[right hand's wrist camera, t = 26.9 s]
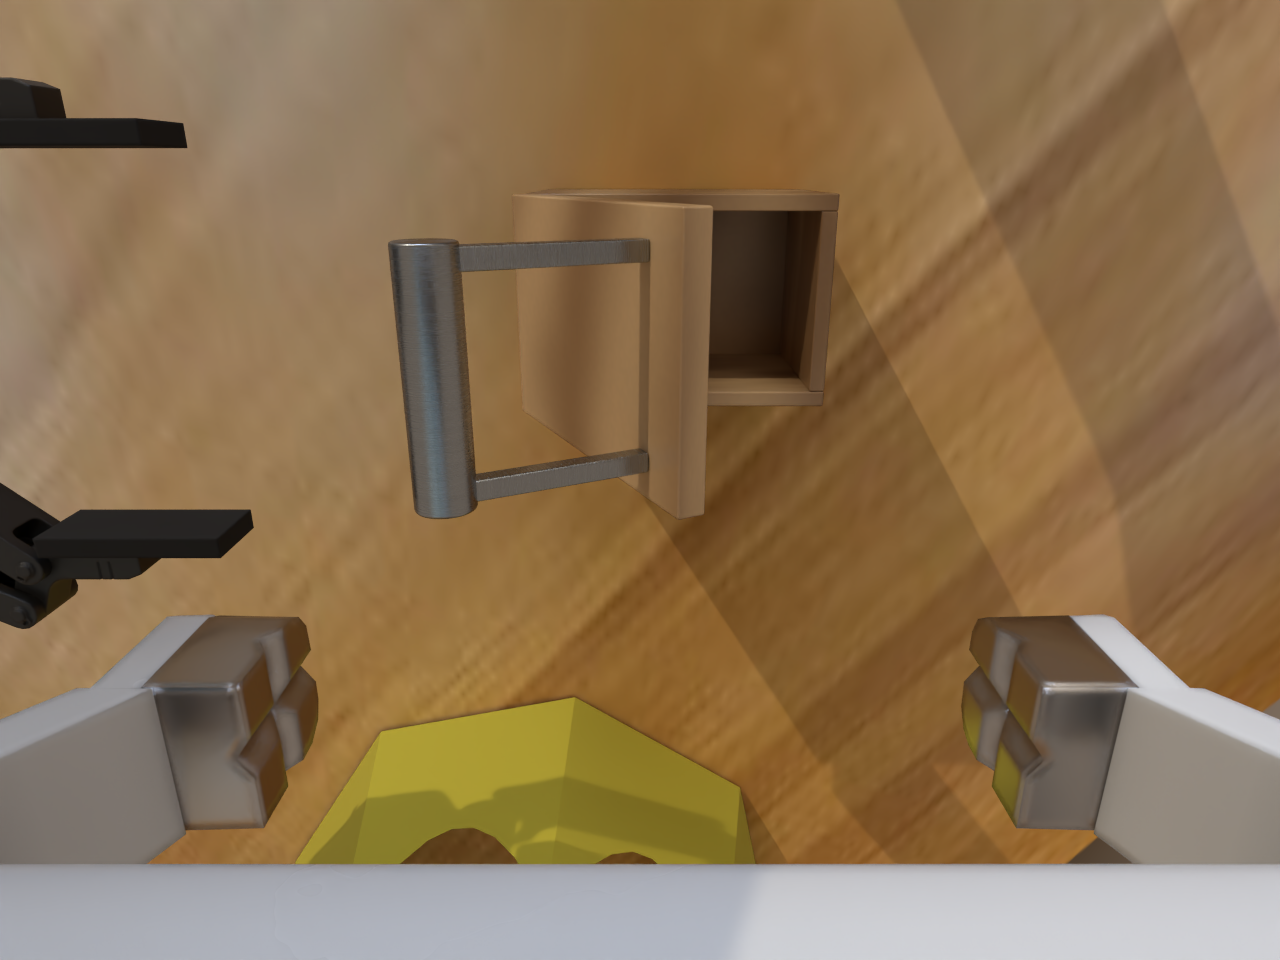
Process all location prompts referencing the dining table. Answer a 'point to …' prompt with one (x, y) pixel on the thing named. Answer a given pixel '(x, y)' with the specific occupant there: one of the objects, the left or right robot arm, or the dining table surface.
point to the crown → (533, 793)
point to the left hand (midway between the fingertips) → (204, 349)
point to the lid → (567, 350)
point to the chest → (761, 289)
